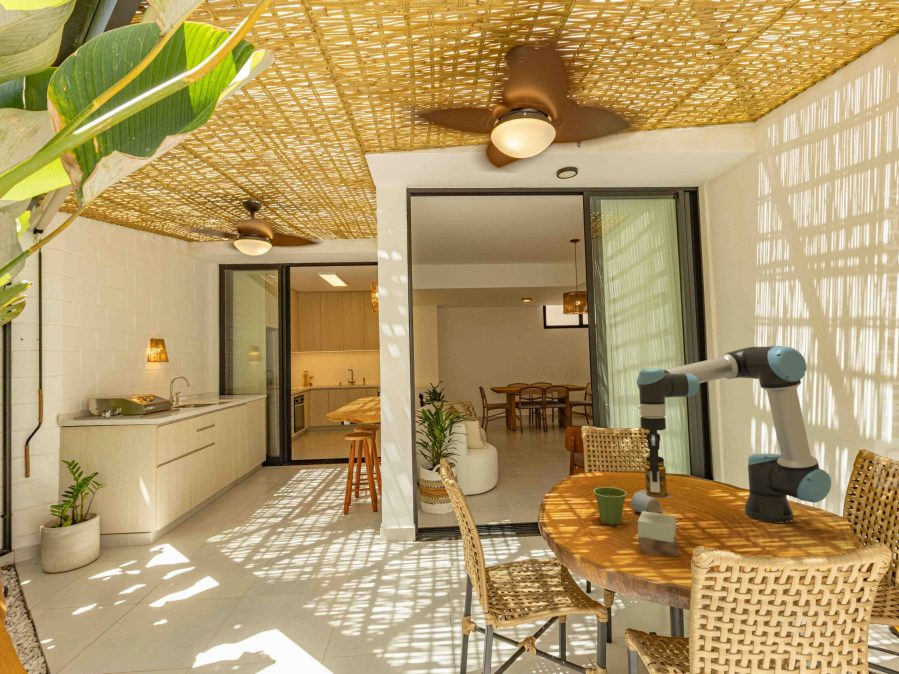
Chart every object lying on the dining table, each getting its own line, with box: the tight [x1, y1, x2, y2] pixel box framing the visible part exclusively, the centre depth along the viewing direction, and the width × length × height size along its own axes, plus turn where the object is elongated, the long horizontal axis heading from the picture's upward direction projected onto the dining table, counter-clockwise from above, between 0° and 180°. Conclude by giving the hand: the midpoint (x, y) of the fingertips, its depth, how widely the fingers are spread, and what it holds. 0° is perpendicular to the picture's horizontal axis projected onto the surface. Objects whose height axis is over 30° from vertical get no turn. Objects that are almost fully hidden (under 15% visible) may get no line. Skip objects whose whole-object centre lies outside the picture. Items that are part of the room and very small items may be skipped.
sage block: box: [637, 511, 677, 543], centre depth 152 cm, size 10×10×5 cm
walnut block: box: [637, 535, 679, 557], centre depth 152 cm, size 10×10×5 cm
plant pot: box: [592, 486, 628, 526], centre depth 175 cm, size 12×12×11 cm
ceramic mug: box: [630, 491, 663, 514], centre depth 183 cm, size 11×8×8 cm
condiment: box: [639, 455, 673, 499], centre depth 153 cm, size 7×8×12 cm
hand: (655, 488), depth 152 cm, fingers closed on condiment, 6 cm apart
